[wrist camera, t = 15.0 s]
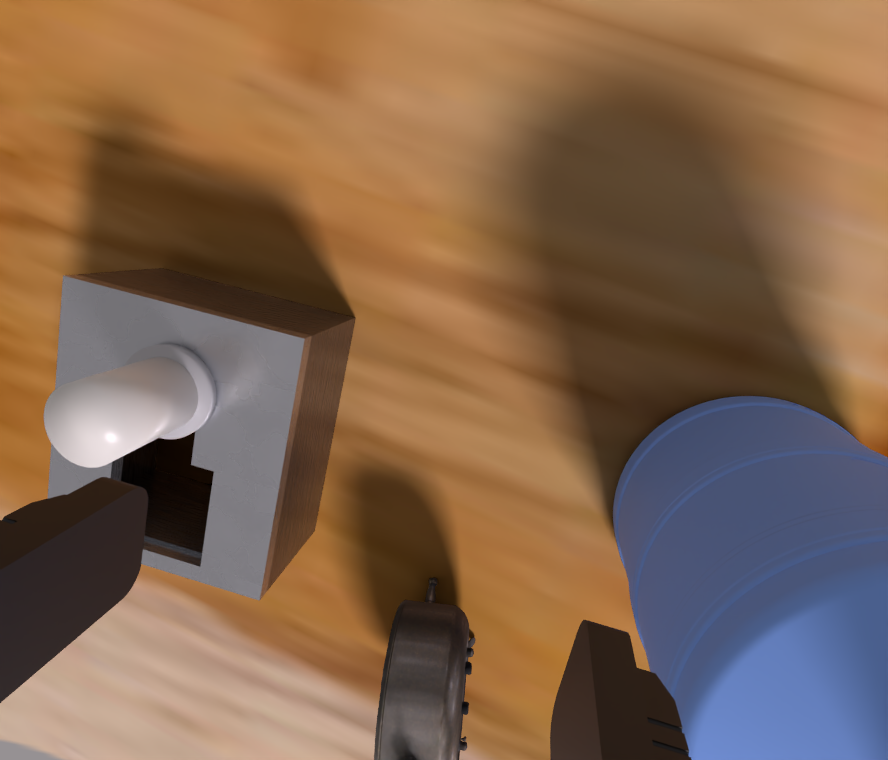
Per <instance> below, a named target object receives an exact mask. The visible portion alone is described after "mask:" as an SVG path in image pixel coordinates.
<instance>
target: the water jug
mask: <svg viewBox="0 0 888 760" xmlns="http://www.w3.org/2000/svg"><path fill="white" fill-rule="evenodd" d="M613 524H614V532H615V537H616V542H617V546H618V550H619V554H620V557H621V560H622V563H623V565H624V567H625V570H626V573H627V577H628V581H629V591H630V599H631V605H632V610H633V614H634V618H635V622H636V626H637V630H638V633H639V636H640V639H641V641H642V644H643V647H644V649H645V651H646V655H647V659H648V663H649V667H650V671H651V672H652V673H656V675H657V676H658V678H659V679H660V680H661V682H662V683H663V685H664V686H665V687H666V689H667V690H668V692H669V693H670V694H671V696H672V697H673V698H674V700H675V702H676V706H677V710H678V713H679V717H680V720H681V724H682V727H683V728H682V733H684V734H685V738H686V742H687V745H688V749H689V757H691V759H692V760H888V457H886V456H884V455H881V454H879V453H877V452H875V451H873V450H871V449H869V448H868V447H866V446H864V445H863V444H861V443H860V442H859V441H857V439H856V438H855V437H854V436H852V435H851V434H850V433H849V432H848V431H846V430H845V429H844V428H842V427H841V426H840V425H838V424H837V423H835V422H834V421H832V420H830V419H829V418H827V417H825V416H824V415H821V414H820V413H818V412H815V411H813V410H811V409H809V408H807V407H804V406H802V405H799V404H796V403H793V402H789V401H786V400H781V399H776V398H770V397H762V396H736V397H727V398H721V399H716V400H712V401H708V402H704V403H701V404H698V405H696V406H693V407H691V408H688V409H686V410H684V411H682V412H680V413H678V414H676V415H674V416H673V417H671V418H669V419H668V420H666V421H665V422H663V423H662V424H661V425H659V426H658V427H657V428H656V429H654V430H653V431H652V432H651V433H650V434H649V435H648V436H647V437H646V438H645V439H644V440H643V441H642V442H641V443H640V445H639V446H638V447H637V448H636V450H635V451H634V452H633V454H632V455H631V457H630V458H629V460H628V462H627V463H626V465H625V467H624V469H623V472H622V474H621V476H620V479H619V482H618V485H617V489H616V493H615V498H614V506H613Z"/></svg>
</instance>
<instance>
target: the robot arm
mask: <svg viewBox="0 0 888 760" xmlns="http://www.w3.org/2000/svg"><path fill="white" fill-rule="evenodd" d="M147 509H148V494H147V492H146V490H145V489H144V488H141V487H138V486H135V485H131V484H128V483H125V482H121V481H118V480H114V479H111V478H108V477H100V478H98V479H96V480H94V481H92V482H90V483H88V484H86V485H85V486H83V487H81V488H79V489H77V490H75V491H73V492H71V493H70V494H68V495H65V494H64V495H60V496H56V497H52V498H48V499H44V500H41V501H37V502H33V503H30V504H28V505H26V506H24V507H22V508H20V509H18V510H16V511H14V512H12V513H10V514H8V515H7V516H5V517H4V518H3V520H2V521H1V520H0V703H1V702H2V701H3V700H4V699H5V698H6V697H8V696H9V695H10V694H11V693H12V692H14V691H15V690H16V689H17V688H18V687H19V686H21V685H22V684H23V683H24V682H25V681H26V680H28V679H29V678H30V677H31V676H32V675H34V674H35V673H36V672H37V671H38V670H39V669H41V668H42V667H43V666H44V665H45V664H46V663H48V662H49V661H50V660H51V659H52V658H54V657H55V656H56V655H57V654H58V653H59V652H61V651H62V650H63V649H64V648H65V647H66V646H68V645H69V644H70V643H71V642H72V641H74V640H75V639H76V638H77V637H78V636H79V635H81V634H82V633H83V632H84V631H85V630H86V629H88V628H89V627H90V626H91V625H92V624H94V623H95V622H96V621H97V620H98V619H99V618H101V617H102V616H103V615H104V614H105V613H106V612H108V611H109V610H110V609H111V608H112V607H114V606H115V605H116V604H117V603H118V602H119V601H121V600H122V599H123V598H124V597H125V596H126V595H127V593H128V592H129V591H130V589H131V588H132V586H133V584H134V582H135V581H136V578H137V576H138V573H139V571H140V567H141V561H142V552H143V544H144V535H145V526H146V517H147ZM682 728H683V727H682V724H681V720H680V717H679V713H678V710H677V706H676V702H675V700H674V698H673V697H672V696H671V694H670V693H669V692H668V690H667V689H666V687H665V686H664V685H663V683H662V682H661V680H660V679H659V678H658V676H657V675H656V673H652V672H649V671H646V670H642V669H639V668H637V667H636V662H635V658H634V653H633V648H632V644H631V639H630V635H629V634H628V633H627V632H625V631H621V630H618V629H614V628H611V627H608V626H604V625H601V624H597V623H594V622H591V621H587V620H583V621H582V623H581V625H580V627H579V629H578V632H577V635H576V638H575V641H574V644H573V647H572V650H571V653H570V656H569V659H568V662H567V665H566V668H565V671H564V675H563V678H562V681H561V684H560V687H559V690H558V693H557V696H556V700H555V704H554V709H553V715H552V722H551V733H550V748H551V760H692V759H691V757H689V749H688V745H687V742H686V738H685V734H684V733H682Z"/></svg>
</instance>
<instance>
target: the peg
mask: <svg viewBox="0 0 888 760" xmlns="http://www.w3.org/2000/svg"><path fill="white" fill-rule="evenodd" d="M215 404H216V387H215V383H214V380H213V377H212V375H211V372H210V371H209V369H208V367H207V366H206V364H205V363H204V362H203V361H202V360H201V359H200V357H198V356H197V355H196V354H195V353H194V352H192V351H190V350H189V349H187V348H185V347H182V346H180V345H176V344H168V343H164V344H158V345H154V346H150V347H146V348H144V349H141V350H139V351H138V352H136V353H135V354H133V355H132V356H131V357H130V358H129V359H128V361H127V362H126V364H125V366H123V367H119V368H116V369H113V370H109V371H106V372H103V373H99V374H96V375H93V376H89V377H86V378H83V379H79V380H76V381H73V382H69V383H66V384H64V385H61V386H60V387H58V388H57V389H56V390H54V391H53V393H52V394H51V395H50V397H49V398H48V400H47V402H46V405H45V410H44V424H45V429H46V432H47V435H48V437H49V439H50V441H51V443H52V444H53V446H54V447H55V448H56V450H57V451H58V452H59V453H60V454H61V455H62V456H63V457H65V458H66V459H67V460H69V461H70V462H72V463H74V464H76V465H79V466H83V467H88V468H97V467H102V466H104V465H107V464H109V463H111V462H113V461H115V460H116V459H118V458H120V457H122V456H124V455H126V454H128V453H130V452H132V451H134V450H136V449H138V448H140V447H142V446H144V445H146V444H148V443H150V442H152V441H154V440H155V439H157V438H163V439H178V438H182V437H185V436H187V435H189V434H191V433H193V432H195V431H197V430H199V429H200V428H201V427H203V426H204V425H205V424H206V423H207V422H208V420H209V419H210V417H211V415H212V413H213V411H214V408H215Z"/></svg>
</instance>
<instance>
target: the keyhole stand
mask: <svg viewBox="0 0 888 760" xmlns="http://www.w3.org/2000/svg"><path fill="white" fill-rule="evenodd" d="M354 323H355V318H354V317H350V316H346V315H342V314H339V313H335V312H331V311H327V310H323V309H319V308H315V307H311V306H307V305H303V304H299V303H296V302H292V301H288V300H284V299H280V298H276V297H272V296H268V295H264V294H260V293H256V292H253V291H249V290H245V289H241V288H237V287H233V286H229V285H225V284H221V283H217V282H213V281H210V280H206V279H202V278H198V277H194V276H190V275H186V274H182V273H178V272H174V271H170V270H167V269H163V268H158V269H145V270H131V271H118V272H105V273H91V274H78V275H65V276H63V285H62V300H61V314H60V329H59V343H58V358H57V372H56V387H55V390H56V389H57V388H58V387H60V386H61V385H64V384H66V383H69V382H73V381H76V380H79V379H83V378H86V377H89V376H93V375H96V374H99V373H103V372H106V371H109V370H113V369H116V368H119V367H123V366H125V364H126V362H127V361H128V359H129V358H130V357H131V356H132V355H133V354H135V353H136V352H138V351H139V350H141V349H144V348H146V347H150V346H154V345H158V344H164V343H168V344H176V345H180V346H182V347H185V348H187V349H189V350H190V351H192V352H194V353H195V354H196V355H197V356H198V357H200V359H201V360H202V361H203V362H204V363H205V364H206V366H207V367H208V369H209V371H210V372H211V375H212V377H213V380H214V383H215V387H216V404H215V408H214V411H213V413H212V415H211V417H210V419H209V420H208V422H207V423H206V424H205V425H204V426H203V427H201V428H200V429H199V430H197V431H195V439H194V446H193V454H192V461H191V465H193V466H197V467H200V468H204V469H207V470H210V471H214V474H213V481H212V485H208V484H205V483H201V482H198V481H195V480H191V479H188V478H184V477H181V476H177V475H174V474H171V473H167V472H164V471H160V470H157V469H155V464H156V456H157V447H158V438H157V439H155V440H154V441H152V442H150V443H148V444H146V445H144V446H142V447H140V448H138V449H136V450H134V451H132V452H130V453H128V454H126V455H124V456H122V457H120V458H118V459H116V460H115V461H113V462H111V463H109V464H107V465H104V466H102V467H97V468H88V467H83V466H79V465H76V464H74V463H72V462H70V461H69V460H67V459H66V458H65V457H63V456H62V455H61V454H60V453H59V452H58V451H57V450H56V448H55V447H54V446H53V444H51V459H50V473H49V488H48V498H52V497H56V496H60V495H64V494H65V495H68V494H70V493H71V492H73V491H75V490H77V489H79V488H81V487H83V486H85V485H86V484H88V483H90V482H92V481H94V480H96V479H98V478H100V477H108V478H111V479H114V480H118V481H121V482H125V483H128V484H131V485H135V486H138V487H141V488H144V489H145V490H146V492H147V494H148V509H147V517H146V526H145V535H144V544H143V552H142V561H141V564H143V565H147V566H150V567H153V568H156V569H160V570H163V571H166V572H169V573H172V574H176V575H179V576H182V577H185V578H189V579H192V580H195V581H198V582H202V583H205V584H208V585H211V586H215V587H218V588H221V589H224V590H227V591H231V592H234V593H237V594H240V595H244V596H247V597H250V598H253V599H257V600H260V599H261V598H262V597H263V596H264V594H265V593H266V592H267V590H268V589H269V588H270V587H271V585H272V584H273V583H274V582H275V580H276V579H277V578H278V577H279V575H280V574H281V573H282V572H283V570H284V569H285V568H286V566H287V565H288V564H289V563H290V561H291V560H292V559H293V558H294V556H295V555H296V554H297V553H298V551H299V550H300V549H301V548H302V546H303V545H304V544H305V542H306V541H307V540H308V539H309V537H310V536H311V535H312V534H313V532H314V531H315V526H316V521H317V516H318V511H319V505H320V500H321V495H322V490H323V485H324V479H325V474H326V469H327V464H328V459H329V453H330V448H331V443H332V438H333V433H334V427H335V422H336V417H337V412H338V407H339V401H340V396H341V391H342V386H343V380H344V375H345V370H346V365H347V360H348V354H349V349H350V344H351V339H352V334H353V328H354Z"/></svg>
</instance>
